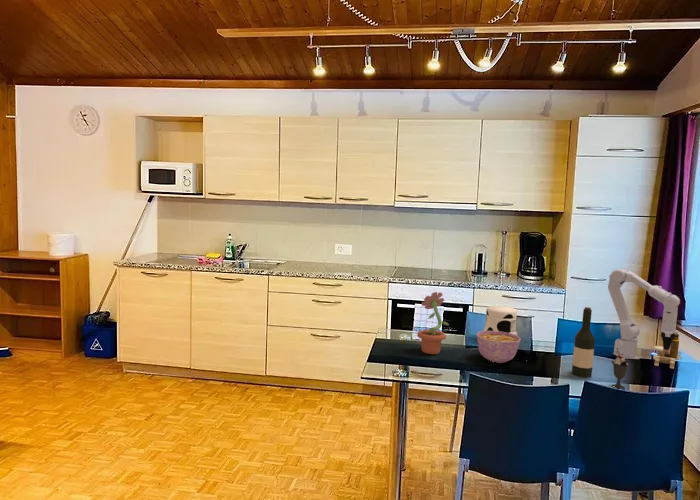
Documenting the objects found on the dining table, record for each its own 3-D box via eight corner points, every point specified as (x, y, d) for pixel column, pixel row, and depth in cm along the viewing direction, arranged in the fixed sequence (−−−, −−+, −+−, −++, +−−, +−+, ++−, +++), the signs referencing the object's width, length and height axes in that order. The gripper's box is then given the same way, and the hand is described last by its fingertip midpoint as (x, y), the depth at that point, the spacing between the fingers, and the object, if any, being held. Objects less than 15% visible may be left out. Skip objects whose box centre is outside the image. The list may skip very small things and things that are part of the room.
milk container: (480, 336, 292) (483, 304, 290) (513, 339, 290) (516, 306, 288) (484, 345, 275) (486, 311, 273) (518, 348, 273) (521, 313, 271)
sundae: (610, 382, 227) (614, 348, 225) (628, 386, 223) (631, 351, 221) (607, 387, 221) (611, 351, 219) (625, 391, 217) (629, 355, 216)
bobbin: (657, 361, 261) (659, 349, 260) (650, 357, 267) (651, 345, 266) (669, 361, 261) (671, 349, 261) (662, 357, 267) (663, 346, 267)
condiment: (680, 357, 269) (683, 334, 268) (672, 360, 265) (675, 336, 263) (665, 353, 275) (668, 331, 274) (657, 355, 271) (659, 332, 269)
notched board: (673, 368, 250) (674, 363, 250) (654, 365, 254) (654, 360, 254) (674, 363, 259) (674, 358, 258) (655, 360, 263) (655, 355, 262)
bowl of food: (521, 358, 255) (523, 334, 254) (515, 370, 237) (517, 344, 236) (479, 351, 264) (481, 328, 263) (470, 362, 246) (472, 337, 244)
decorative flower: (438, 347, 268) (442, 288, 264) (452, 355, 255) (456, 293, 251) (411, 348, 263) (415, 288, 260) (424, 357, 250) (427, 294, 247)
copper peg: (671, 353, 253) (672, 339, 252) (664, 353, 253) (666, 339, 252) (667, 352, 256) (669, 337, 255) (661, 351, 256) (662, 337, 255)
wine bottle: (567, 371, 239) (573, 305, 236) (585, 371, 240) (591, 305, 237) (577, 377, 231) (583, 309, 228) (595, 378, 232) (602, 310, 229)
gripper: (679, 325, 244) (675, 353, 246) (679, 319, 257) (676, 346, 258) (661, 322, 248) (658, 350, 250) (662, 317, 260) (659, 344, 262)
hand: (666, 348), depth 254 cm, fingers closed on copper peg, 3 cm apart
